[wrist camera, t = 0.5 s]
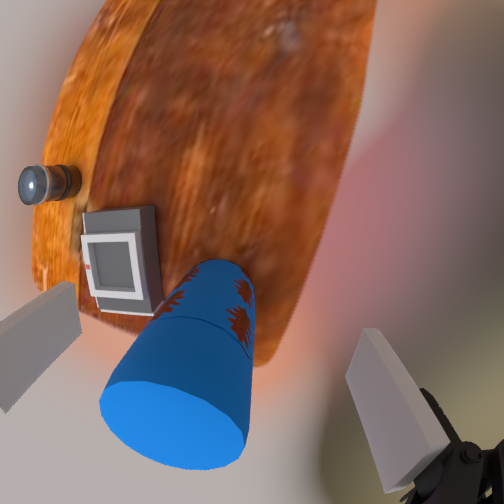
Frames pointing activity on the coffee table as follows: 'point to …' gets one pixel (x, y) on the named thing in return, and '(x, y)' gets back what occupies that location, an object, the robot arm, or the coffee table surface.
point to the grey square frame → (123, 259)
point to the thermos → (189, 373)
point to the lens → (48, 183)
